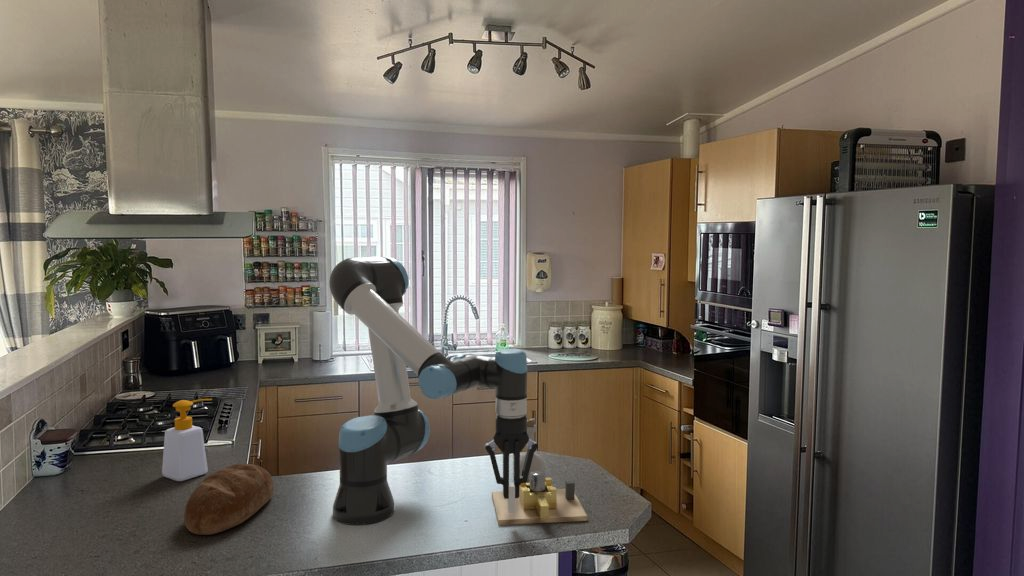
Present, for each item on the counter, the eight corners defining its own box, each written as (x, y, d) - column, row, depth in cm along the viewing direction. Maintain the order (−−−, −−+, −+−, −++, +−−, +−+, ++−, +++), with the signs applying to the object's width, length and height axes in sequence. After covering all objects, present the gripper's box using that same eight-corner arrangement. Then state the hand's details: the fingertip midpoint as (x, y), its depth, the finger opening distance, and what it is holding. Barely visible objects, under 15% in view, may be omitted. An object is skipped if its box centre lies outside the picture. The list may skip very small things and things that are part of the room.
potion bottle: (542, 486, 184) (543, 423, 182) (511, 484, 185) (511, 421, 184) (547, 475, 192) (547, 415, 191) (517, 473, 194) (517, 413, 193)
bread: (167, 537, 152) (165, 489, 151) (232, 489, 181) (231, 449, 180) (232, 540, 150) (231, 491, 150) (287, 491, 179) (286, 451, 179)
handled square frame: (519, 496, 172) (519, 478, 172) (550, 495, 173) (550, 477, 173) (527, 521, 157) (527, 501, 157) (561, 519, 158) (561, 500, 158)
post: (530, 511, 167) (531, 476, 166) (528, 505, 171) (528, 471, 170) (546, 510, 167) (546, 476, 166) (543, 504, 171) (544, 470, 170)
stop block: (566, 500, 171) (567, 483, 171) (565, 497, 173) (565, 480, 173) (574, 499, 171) (574, 483, 171) (572, 496, 173) (572, 480, 173)
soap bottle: (223, 469, 196) (221, 396, 195) (178, 483, 184) (176, 406, 183) (204, 463, 201) (202, 392, 200) (159, 477, 190) (157, 401, 188)
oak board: (498, 524, 159) (498, 520, 159) (491, 496, 176) (491, 491, 176) (587, 520, 161) (587, 515, 161) (571, 492, 179) (571, 488, 179)
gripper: (485, 419, 152) (485, 518, 154) (540, 417, 154) (540, 516, 155) (482, 411, 160) (483, 506, 161) (535, 409, 161) (535, 503, 163)
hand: (511, 510), depth 158 cm, fingers closed
